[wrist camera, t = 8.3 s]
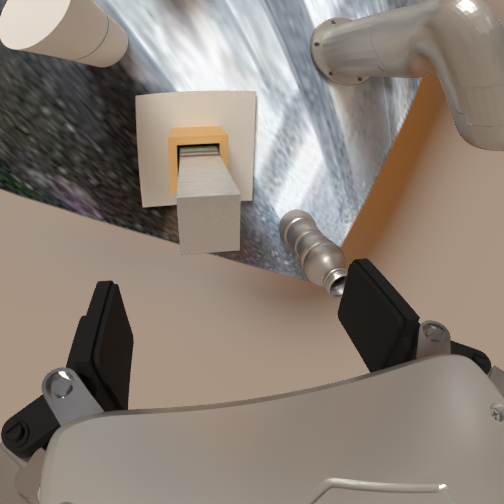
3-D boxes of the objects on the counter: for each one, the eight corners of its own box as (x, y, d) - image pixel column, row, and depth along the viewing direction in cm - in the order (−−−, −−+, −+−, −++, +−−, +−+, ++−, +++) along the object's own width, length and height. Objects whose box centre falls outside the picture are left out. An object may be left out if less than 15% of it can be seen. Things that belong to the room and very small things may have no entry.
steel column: (213, 140, 37) (243, 192, 18) (213, 171, 39) (241, 252, 21) (180, 141, 36) (173, 195, 18) (181, 173, 38) (178, 256, 20)
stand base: (254, 91, 41) (278, 90, 30) (250, 198, 50) (270, 231, 39) (136, 95, 38) (118, 96, 27) (143, 204, 47) (131, 241, 36)
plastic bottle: (275, 241, 56) (316, 311, 39) (275, 207, 52) (321, 269, 35) (308, 237, 57) (358, 302, 40) (310, 203, 53) (366, 261, 36)
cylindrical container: (128, 63, 35) (68, 33, 14) (84, 71, 34) (-5, 61, 12) (129, 22, 31) (76, -39, 10) (85, 31, 30) (3, -10, 9)
